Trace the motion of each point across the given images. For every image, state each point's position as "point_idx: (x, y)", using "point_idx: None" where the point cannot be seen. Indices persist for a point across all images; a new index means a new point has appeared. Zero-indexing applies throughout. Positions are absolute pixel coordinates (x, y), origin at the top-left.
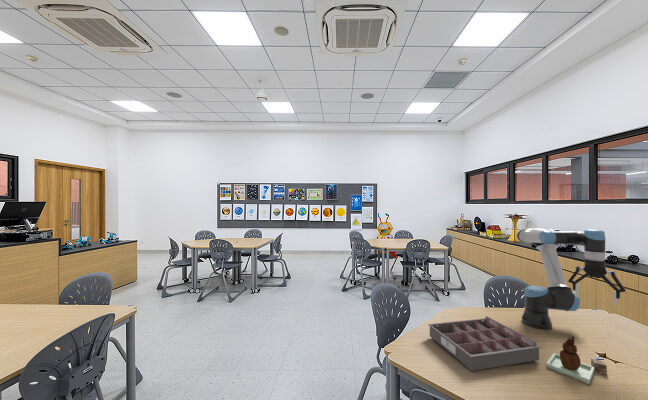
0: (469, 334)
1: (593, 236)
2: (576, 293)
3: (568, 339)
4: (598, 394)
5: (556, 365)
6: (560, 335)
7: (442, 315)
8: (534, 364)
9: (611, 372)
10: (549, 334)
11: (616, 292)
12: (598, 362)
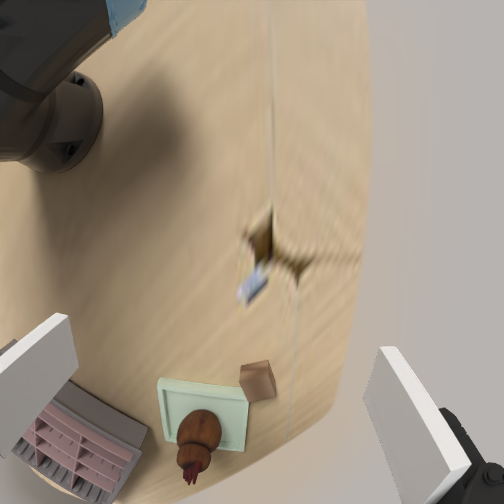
0: (39, 436)
1: None
2: (52, 387)
3: (187, 480)
4: (259, 459)
5: (179, 422)
6: (132, 166)
7: None
8: (148, 434)
9: (285, 360)
10: (104, 194)
11: (438, 497)
12: (257, 394)
